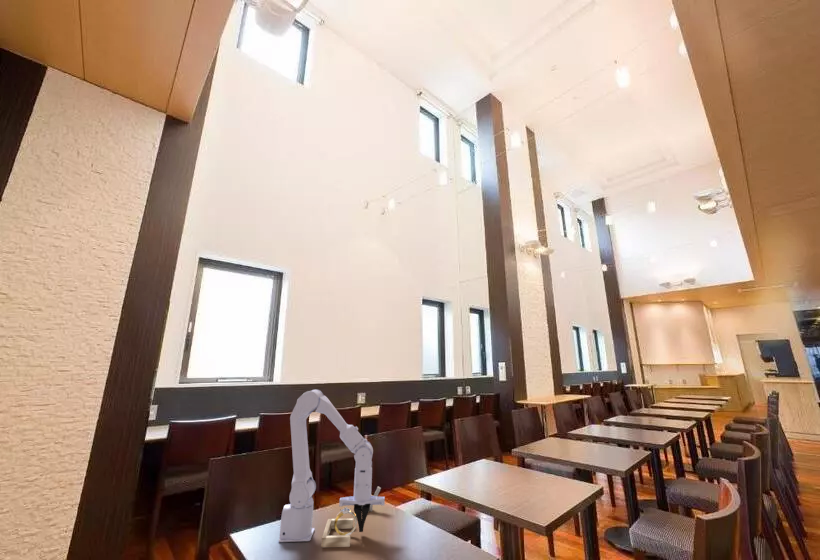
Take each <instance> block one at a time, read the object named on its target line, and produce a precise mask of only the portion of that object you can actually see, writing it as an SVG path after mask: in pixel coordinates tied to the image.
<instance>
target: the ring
mask: <svg viewBox="0 0 820 560" xmlns="http://www.w3.org/2000/svg"><path fill="white" fill-rule="evenodd" d="M339 510H340V511H339V512H338V513H337V514H336V517H335V518H334V519H335V522H334V526H335V529H334V530H335V531H336V533H337V534H338V535H350V536H351V535H352V534H353V533H354V531H355V530H356V527H357V525H358V521H357V517H356V515H355V512H354V511H353V510H351V507H349V508H348V506H343V508H340V509H339ZM347 514H349V515H351V516H352V518H353V528H351V530H350V531H348V532H347V531H341V529H338V527H337V520H338V519H341V517H342V516H344V515H347Z"/></svg>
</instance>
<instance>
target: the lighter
mask: <svg viewBox="0 0 820 560" xmlns="http://www.w3.org/2000/svg"><path fill="white" fill-rule="evenodd" d="M381 489H382V487H380V486H377V487H376V490H375V491H374V493H373V496H378V495H379V494H380V492H381ZM373 506H374V505H370V510H369V512H373Z"/></svg>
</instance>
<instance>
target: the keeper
mask: <svg viewBox="0 0 820 560" xmlns="http://www.w3.org/2000/svg"><path fill="white" fill-rule="evenodd" d="M335 519H336V518H328V519H327V521H326V524H325V528H324V530H323V534H322V536H321V543H320V544H321V545H320V547H321V548H349V547H351V534H350V535H339V534H338V535H330V533H331V530H335V526H334V522H335ZM337 527H338V529H339V530H341V529H342V530H343V529H348V530H349V529H353V527H354V518H353V517H351V518H347V517H346V518H339V519H338V520H337Z"/></svg>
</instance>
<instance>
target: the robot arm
mask: <svg viewBox="0 0 820 560" xmlns="http://www.w3.org/2000/svg"><path fill="white" fill-rule="evenodd" d="M314 411H315V413H317V414H318V413H319V414H322V415H323V414H324V416H326V417H327V419H328V420H329V421H330V422H331V423H332V424H333V425H334V426H335V427H336V429H337V430H338V432H339V438H340V440H341V441H342V442H343V444H344V445H345V446H346V448H348V450H349V451H350V452H351V453H353V458H354V461H355V466H354V467H355V468H354V479H353V480H354V481H353V496H351V495H350V496H345V497H340V498H339V502H338V503H339V505H338V506H339V507H348V506H353V512H354V514H355V515H356V518H357V525H358V533H363V532H364V527H365V523H366V518H367V517H368V514H369V512H370V511H369V510H370V505H373V506H378V505H379V506H386V505H385V504H386V503H385V497H386V496H374V495H372V486H373V485H372V483H373V480H372V479H373V461H372V459H373V454H374V448H373V446H372V444H371V442H370V441H368V439H367V438H365V437H364V436H362V434H361V433H360V432H359V427H358V426H357V425H356V426H354V424H348V423H347V422H346V421H345V419H344V418H343V416H342V415H341V414H340V412H339V411H338V410H337V408H336V407H335V406H334V404H333V403H332V402H331V401H330V399H329V398H328V397H327V396H326V395H324V393H323V392H322V391H321V390H320V389H312V390H307V391H305V392H303V394H301V395H300V396H299V397H298V398H297V400H296V404H295V405H294V407H293V409H292V411H291V413H290V417H289V421H290V422H289V424H290V435H291V450H292V451H291V452H292V455H291V456H292V468H293V475H292V480H291V489H290V492H289V503H288V504H285V505H283V509H282V511H281V517H280V528H279V537H278V538H279V539H278V542H279V543H288V542H290V543H292V542H295V543H296V542H310V541H311V540H312V537H313V534H314V532H315V529H316V528H315V527H313V517H314V516H313V515H314V504H315V503H314V499H313V495H314V494H315V491H316V489H317V484H316V481H315V480H314V478H313V471H311V468H310V455H309V444H308V443H309V441H308V431H307V429H308V428H307V419H308V417H309V416H310V415H311V414H312V413H313V412H314Z"/></svg>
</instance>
